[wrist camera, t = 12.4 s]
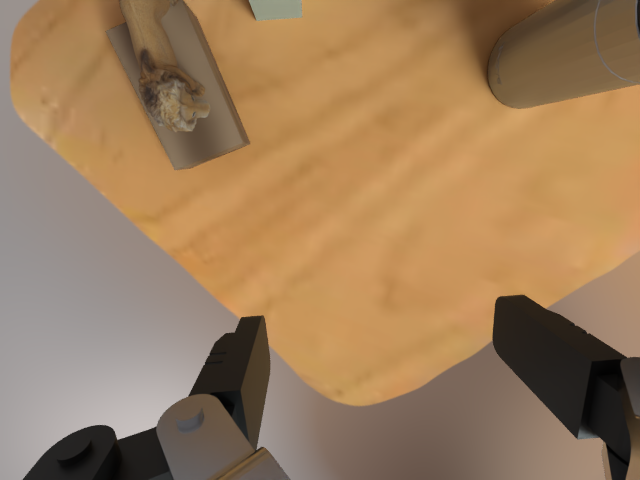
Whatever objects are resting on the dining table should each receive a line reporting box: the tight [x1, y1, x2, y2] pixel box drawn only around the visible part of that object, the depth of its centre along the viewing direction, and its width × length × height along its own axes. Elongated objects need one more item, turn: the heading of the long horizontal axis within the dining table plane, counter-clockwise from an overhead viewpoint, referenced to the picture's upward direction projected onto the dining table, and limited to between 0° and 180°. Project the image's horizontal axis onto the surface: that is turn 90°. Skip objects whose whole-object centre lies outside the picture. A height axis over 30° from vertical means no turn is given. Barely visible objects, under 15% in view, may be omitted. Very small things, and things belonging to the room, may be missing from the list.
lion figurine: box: [119, 0, 210, 132], centre depth 27 cm, size 15×5×9 cm, turn 20°
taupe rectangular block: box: [106, 0, 250, 170], centre depth 34 cm, size 8×14×5 cm, turn 21°
